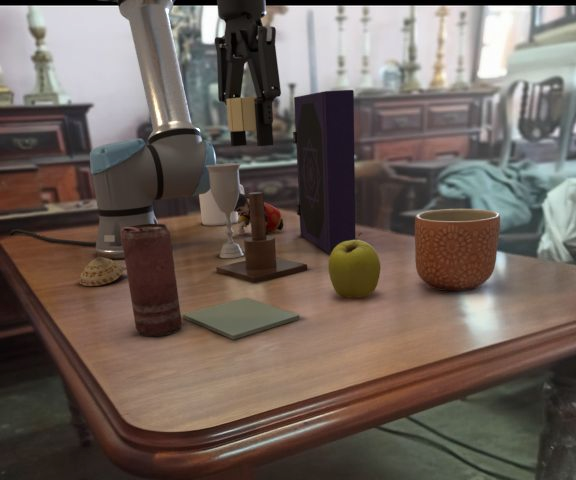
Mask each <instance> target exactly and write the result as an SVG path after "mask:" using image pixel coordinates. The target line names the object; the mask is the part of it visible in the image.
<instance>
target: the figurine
mask: <svg viewBox="0 0 576 480" xmlns="http://www.w3.org/2000/svg"><path fill="white" fill-rule="evenodd" d="M264 210H265V224H266V233H273V232H276V231H277V230H278V231H282V230H283V229H284V220H283V218H282V212H281V211H280V210H279V209H278V208H276V207H275V206H273V205H271V204H269V203H267V202H265V201H264ZM234 211H235V212H238V222H237V223H238V233H239V235H241V236H243V235H244V234H245V232H246V230H245V228H247V227H248V226H249V225H250V224H251V219H250V206H249V196H246V195H245V193H244V194H241V193H239V197H238V201H237V204H236V207H235V209H234Z"/></svg>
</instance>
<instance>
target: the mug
mask: <svg viewBox="0 0 576 480" xmlns="http://www.w3.org/2000/svg"><path fill="white" fill-rule="evenodd" d="M239 194H244V195H245V188H244V186H243V185H242V184H241V183H240V193H239ZM198 198H199V199H198V200H199V208H200V215H201V217H200V218H201V223H202V225H204V226H208V227H210V226H211V227H214V226H216V227H217V226H226V224H225V222H226V215H225V213H223V212H221V211H220V209H219V207H218V205H217V204H216V202H215V200H214V198H213V195H212V193H211V189H210V190H209V191H208V192H206V193H204V194H199V195H198ZM230 218H231V221H232V224H231V225H233V224H236V223H238V221H239V215H238V212H235V211H233V212H231V213H230Z"/></svg>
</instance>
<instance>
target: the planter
mask: <svg viewBox="0 0 576 480" xmlns="http://www.w3.org/2000/svg"><path fill="white" fill-rule="evenodd" d="M500 227H501V214H500V213H499V212H497V211H493V210H488V209H481V208H480V209H479V208H444V209H443V208H442V209H433V210H427V211H423V212H422V211H421V212H419V213H416V215H415V218H414V251H415V252H414V256H415V257H414V259H415V260H414V262H415V269H416V272H417V275H418V276H419V278H420V279H421V281H423V282H424V283H425V284H426V285H427V286H429V287H431V288H433V289H436V290H441V291H449V292H453V291H454V292H458V291H459V292H461V291H469V290H474V289H477V288H479V287H480V286H483V284H485V283H486V282H487V281H488V280H489V279H490V278H491V276H492V275H493V273H494V271H495V266H496V262H497V254H498V245H499V237H500V230H501V229H500Z"/></svg>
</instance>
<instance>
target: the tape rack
mask: <svg viewBox="0 0 576 480" xmlns="http://www.w3.org/2000/svg"><path fill="white" fill-rule="evenodd" d="M248 197H249V206H250V219H251V223H250V230H251V236H248V237H246V238H244V239H243V247H244V259H245V260H242V261H241V260H240V261H238V262H237V261H236V262H232V263H228V264H223V265H220V266H216V267H215V268H216V273H218V274H222V275H225V276H227V277H232V278H235V279H239V280H242V281H245V282H249V283H253V284H256V283H257V284H258V283H260V282H265V281H269V280H273V279H277V278H280V277H285V276H288V275H293V274H296V273H301V272H304V271H308V264H307V263H302V262H298V261H294V260H289V259H285V258H280V257H277V251H276V237H275V236H272V235H267V232H266V224H265V210H264V202H265V196H264V192H263V191H254V192H249V193H248Z"/></svg>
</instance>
